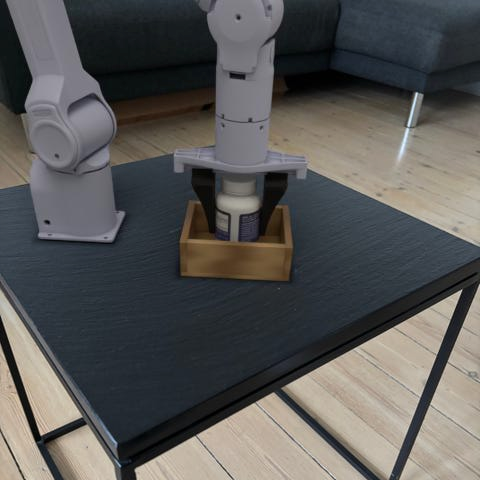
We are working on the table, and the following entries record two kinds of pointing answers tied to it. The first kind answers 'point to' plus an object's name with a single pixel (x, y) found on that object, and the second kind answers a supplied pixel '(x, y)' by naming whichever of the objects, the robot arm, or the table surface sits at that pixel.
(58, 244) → the table surface
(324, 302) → the table surface
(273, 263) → the bin
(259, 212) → the pill bottle
